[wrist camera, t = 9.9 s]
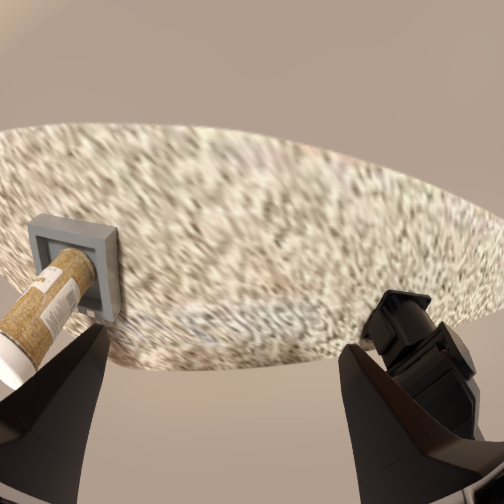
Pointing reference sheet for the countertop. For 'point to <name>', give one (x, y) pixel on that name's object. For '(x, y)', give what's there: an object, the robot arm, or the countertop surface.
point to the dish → (97, 250)
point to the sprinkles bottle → (42, 315)
